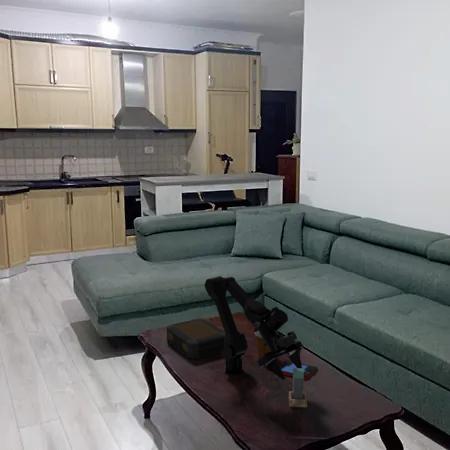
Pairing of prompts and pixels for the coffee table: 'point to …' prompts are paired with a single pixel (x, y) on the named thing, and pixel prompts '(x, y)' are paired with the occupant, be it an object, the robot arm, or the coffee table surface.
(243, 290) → the robot arm
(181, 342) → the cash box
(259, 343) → the disposable coffee cup
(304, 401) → the open wooden box
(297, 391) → the teal-topped square pillar
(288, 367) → the game console
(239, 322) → the coffee table surface
